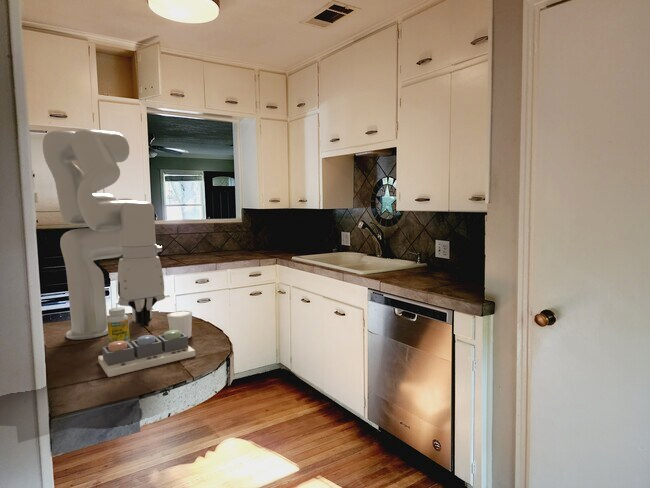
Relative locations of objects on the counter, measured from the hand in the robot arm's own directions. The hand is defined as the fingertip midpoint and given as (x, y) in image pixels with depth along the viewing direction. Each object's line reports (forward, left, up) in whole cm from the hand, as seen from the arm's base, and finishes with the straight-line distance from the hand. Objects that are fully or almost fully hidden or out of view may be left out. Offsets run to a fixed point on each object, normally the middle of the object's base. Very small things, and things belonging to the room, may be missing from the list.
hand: (143, 325), depth 107 cm
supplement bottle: (-18, -2, -9) cm, 20 cm away
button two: (+1, 0, -7) cm, 7 cm away
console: (+1, 0, -9) cm, 9 cm away
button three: (+1, +7, -7) cm, 9 cm away
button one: (+1, -6, -7) cm, 9 cm away
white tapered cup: (-11, +13, -9) cm, 19 cm away
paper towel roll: (-39, +9, -9) cm, 41 cm away
